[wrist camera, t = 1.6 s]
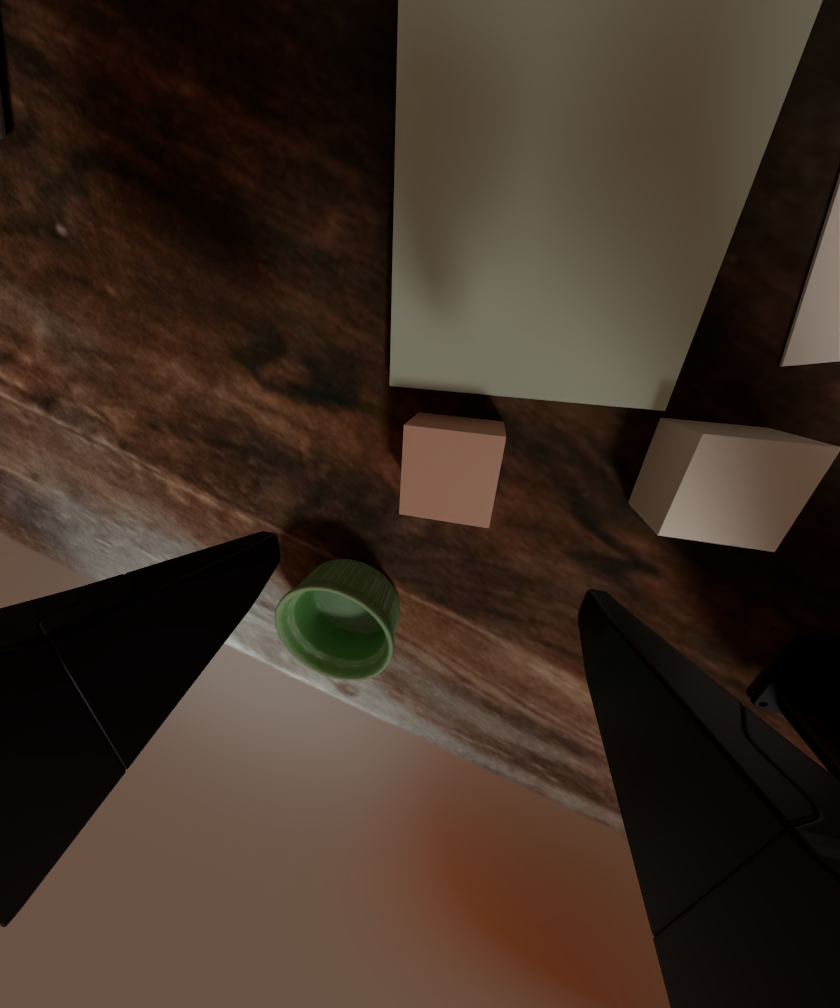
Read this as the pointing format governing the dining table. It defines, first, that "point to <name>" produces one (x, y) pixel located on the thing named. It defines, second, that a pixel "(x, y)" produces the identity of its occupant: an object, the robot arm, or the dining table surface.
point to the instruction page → (819, 300)
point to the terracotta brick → (451, 468)
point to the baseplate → (573, 185)
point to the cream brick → (727, 482)
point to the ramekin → (340, 620)
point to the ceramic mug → (2, 121)
